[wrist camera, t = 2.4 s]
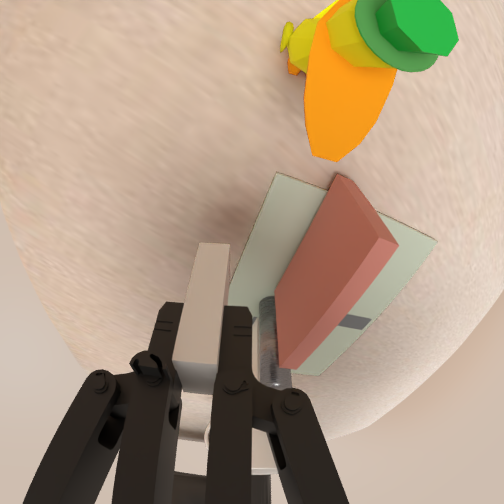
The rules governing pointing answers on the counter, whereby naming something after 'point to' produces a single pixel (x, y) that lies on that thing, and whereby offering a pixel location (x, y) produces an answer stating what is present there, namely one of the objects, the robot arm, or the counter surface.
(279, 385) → the post
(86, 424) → the robot arm
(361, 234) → the red panel
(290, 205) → the card
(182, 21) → the counter surface
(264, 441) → the mug
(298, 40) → the toy figure
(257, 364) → the fixed panel
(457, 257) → the counter surface
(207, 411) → the counter surface
